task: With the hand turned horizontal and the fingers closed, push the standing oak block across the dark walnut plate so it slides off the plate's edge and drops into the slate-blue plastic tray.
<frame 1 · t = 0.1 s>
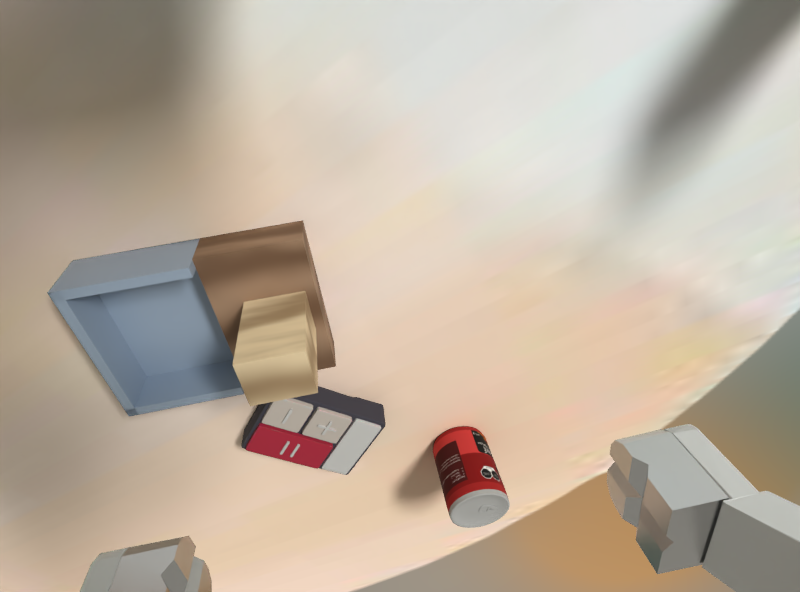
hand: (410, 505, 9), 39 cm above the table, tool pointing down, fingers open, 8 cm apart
oak block: (281, 316, 48), point 4 cm above the table, touching walnut plate
calculator: (314, 415, 64), on the table
canned food: (457, 441, 71), on the table
walnut plate: (273, 295, 52), on the table
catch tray: (169, 314, 51), on the table
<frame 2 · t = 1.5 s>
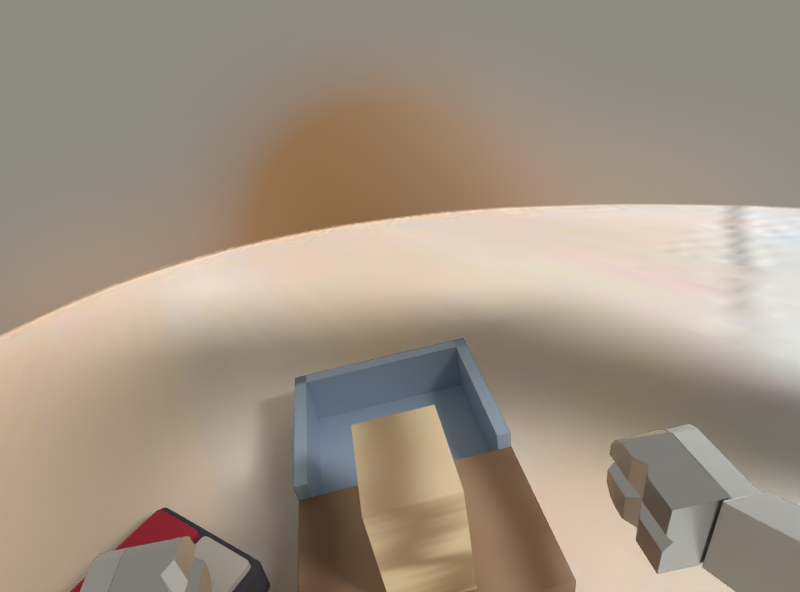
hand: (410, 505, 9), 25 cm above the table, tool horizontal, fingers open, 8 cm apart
oak block: (424, 550, 30), point 4 cm above the table, touching walnut plate
walnut plate: (428, 569, 33), on the table
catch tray: (400, 447, 43), on the table
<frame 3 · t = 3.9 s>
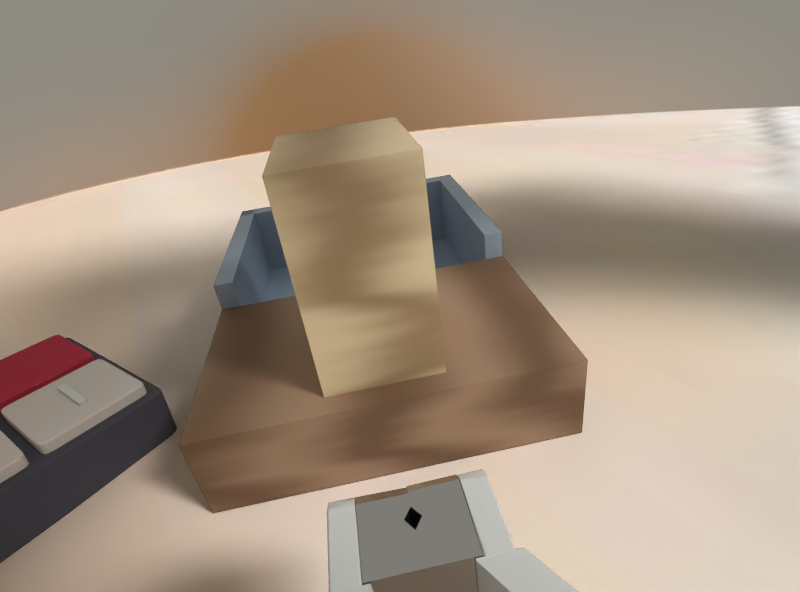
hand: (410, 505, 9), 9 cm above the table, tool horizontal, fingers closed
oak block: (377, 342, 22), point 4 cm above the table, touching walnut plate
walnut plate: (387, 394, 25), on the table
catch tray: (366, 292, 34), on the table
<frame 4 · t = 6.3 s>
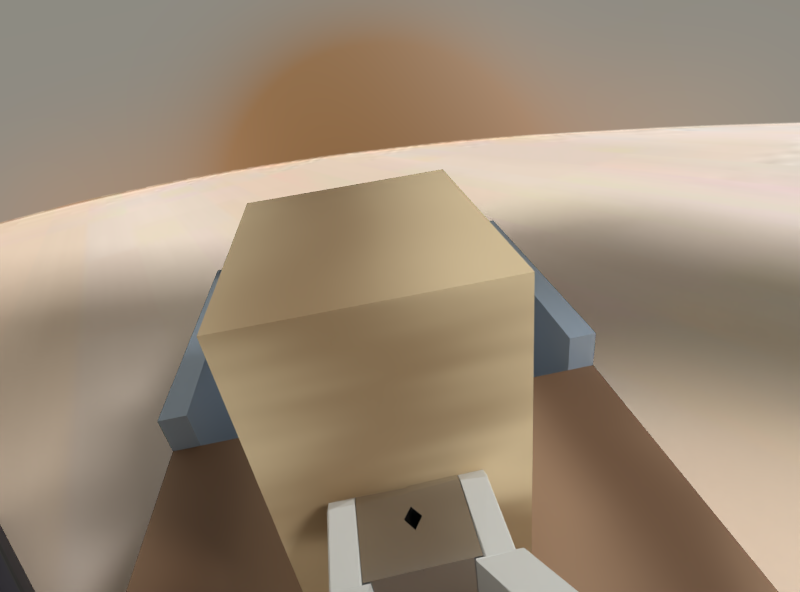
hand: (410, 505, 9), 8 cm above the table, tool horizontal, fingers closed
oak block: (408, 514, 14), point 4 cm above the table, touching walnut plate
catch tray: (384, 385, 25), on the table
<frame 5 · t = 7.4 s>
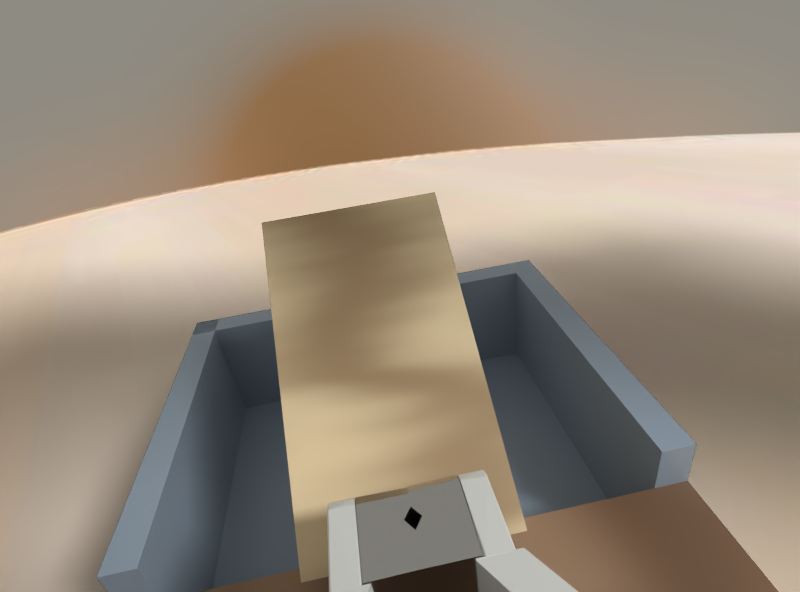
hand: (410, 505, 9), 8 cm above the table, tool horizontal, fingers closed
oak block: (413, 543, 13), point 4 cm above the table, tilted 52°
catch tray: (401, 468, 21), on the table
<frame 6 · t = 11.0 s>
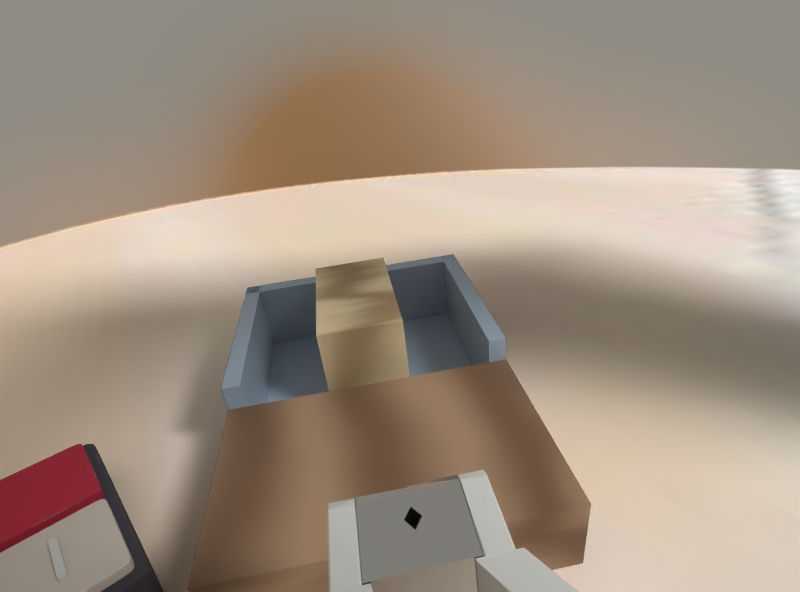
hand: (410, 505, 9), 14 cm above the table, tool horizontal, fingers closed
oak block: (367, 369, 29), point 4 cm above the table, tilted 90°, touching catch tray
walnut plate: (390, 504, 25), on the table
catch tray: (369, 374, 35), on the table
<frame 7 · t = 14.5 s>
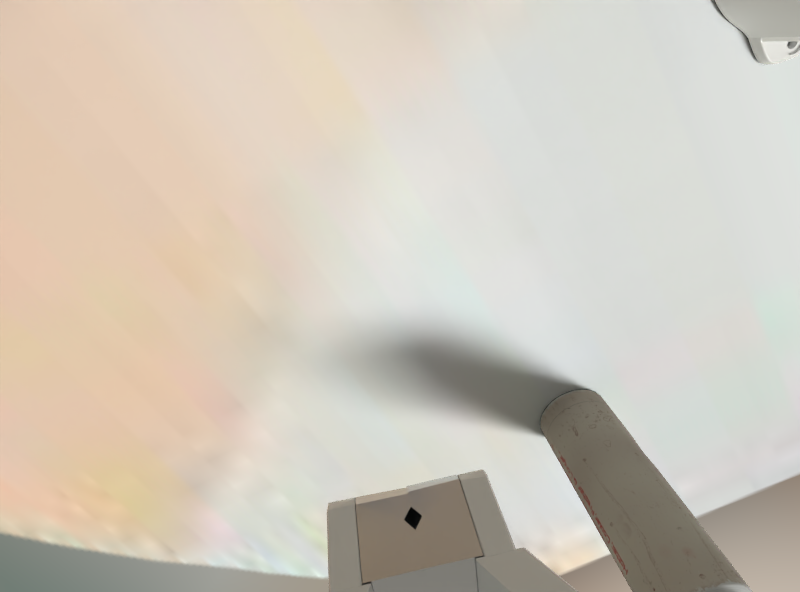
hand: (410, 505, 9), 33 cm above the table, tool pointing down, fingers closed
thermos bottle: (571, 414, 57), on the table
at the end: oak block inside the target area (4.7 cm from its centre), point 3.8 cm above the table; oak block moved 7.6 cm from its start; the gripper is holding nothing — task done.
